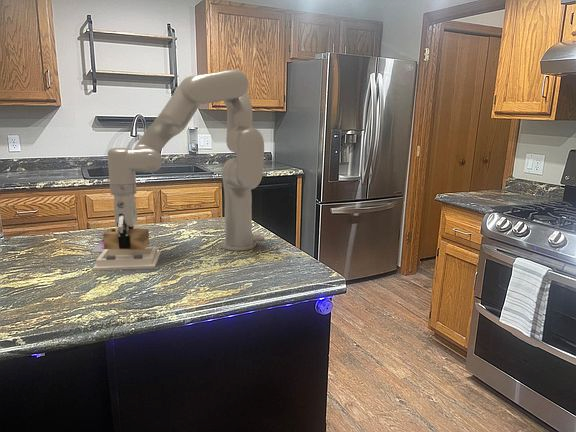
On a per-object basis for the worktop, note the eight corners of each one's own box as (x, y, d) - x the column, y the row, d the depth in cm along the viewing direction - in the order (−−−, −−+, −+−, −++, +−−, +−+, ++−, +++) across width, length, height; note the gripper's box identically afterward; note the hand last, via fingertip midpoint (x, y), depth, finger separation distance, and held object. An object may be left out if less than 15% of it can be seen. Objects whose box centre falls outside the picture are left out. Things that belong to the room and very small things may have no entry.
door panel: (149, 243, 138) (148, 227, 137) (143, 249, 133) (142, 232, 131) (111, 243, 138) (110, 226, 137) (104, 249, 132) (103, 231, 131)
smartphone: (89, 252, 144) (102, 239, 158) (89, 254, 144) (103, 241, 158) (111, 251, 144) (123, 238, 159) (111, 253, 145) (123, 240, 159)
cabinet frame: (160, 253, 145) (160, 242, 144) (154, 268, 131) (154, 256, 130) (104, 255, 142) (103, 244, 141) (92, 270, 129) (91, 258, 128)
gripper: (130, 194, 123) (134, 253, 128) (140, 184, 140) (144, 236, 144) (103, 194, 122) (107, 254, 126) (116, 184, 139) (120, 237, 143)
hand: (127, 244), depth 135 cm, fingers closed on door panel, 6 cm apart
